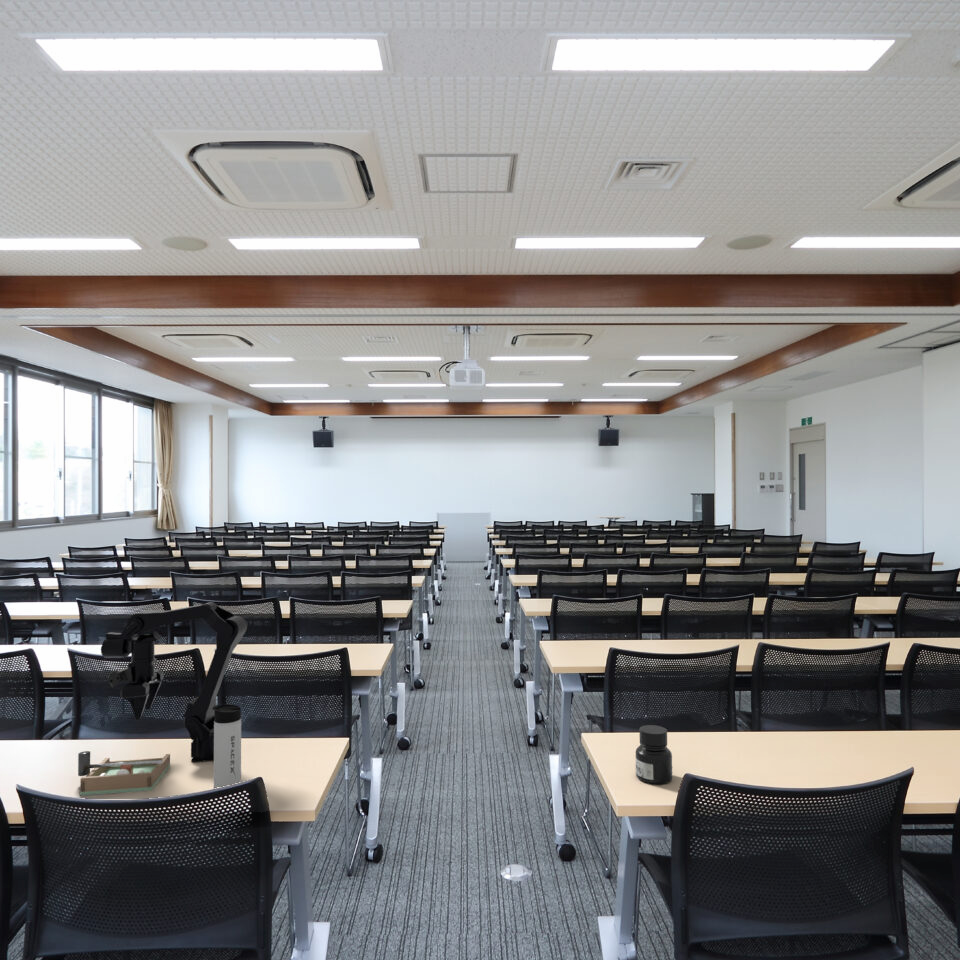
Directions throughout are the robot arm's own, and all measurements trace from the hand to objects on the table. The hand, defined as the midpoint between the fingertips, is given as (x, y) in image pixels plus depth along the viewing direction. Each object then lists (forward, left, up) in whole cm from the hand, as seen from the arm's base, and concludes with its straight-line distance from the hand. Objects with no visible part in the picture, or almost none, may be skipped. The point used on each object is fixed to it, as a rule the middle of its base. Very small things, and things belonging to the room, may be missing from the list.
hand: (143, 714), depth 185 cm
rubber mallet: (0, +16, -11) cm, 19 cm away
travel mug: (-27, +25, -12) cm, 39 cm away
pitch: (-1, +16, -12) cm, 20 cm away
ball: (-1, +19, -9) cm, 21 cm away
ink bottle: (-132, +37, -12) cm, 138 cm away
